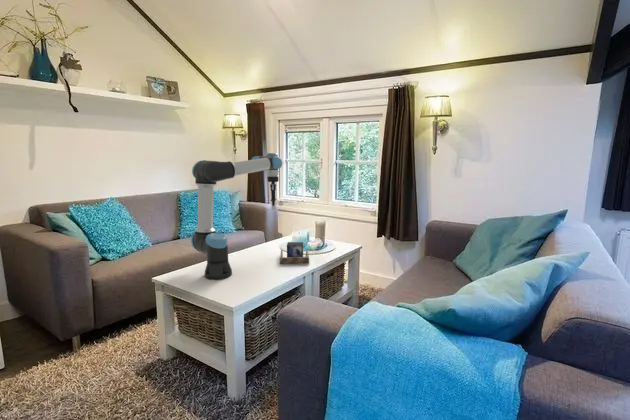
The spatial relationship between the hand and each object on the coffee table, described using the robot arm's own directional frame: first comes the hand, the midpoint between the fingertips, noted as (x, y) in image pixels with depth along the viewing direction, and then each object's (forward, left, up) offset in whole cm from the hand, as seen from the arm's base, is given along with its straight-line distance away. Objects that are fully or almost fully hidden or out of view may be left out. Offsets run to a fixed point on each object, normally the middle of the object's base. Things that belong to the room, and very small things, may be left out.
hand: (273, 209), depth 236 cm
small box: (+14, -19, -30) cm, 38 cm away
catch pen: (+14, -20, -29) cm, 38 cm away
